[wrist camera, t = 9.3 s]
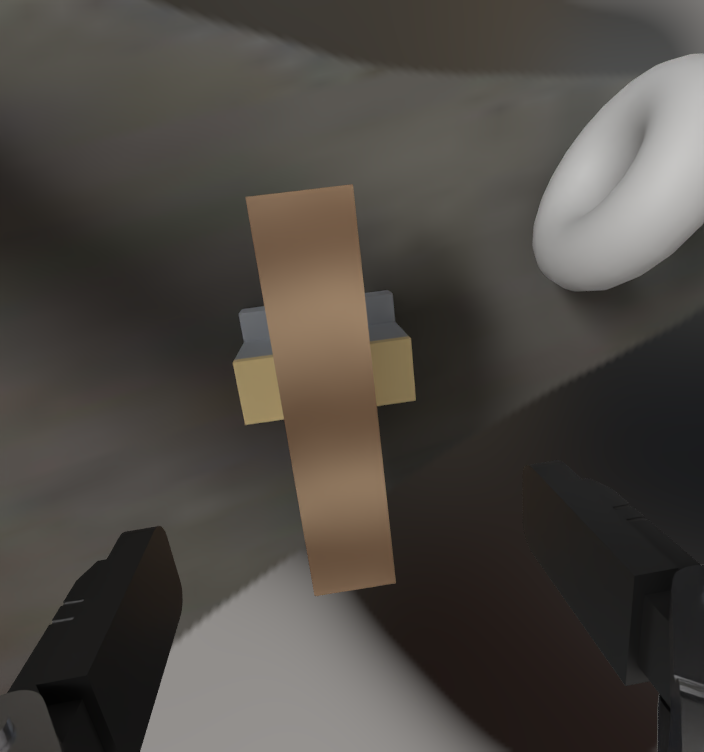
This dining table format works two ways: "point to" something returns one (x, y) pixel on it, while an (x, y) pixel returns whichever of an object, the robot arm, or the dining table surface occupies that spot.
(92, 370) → the dining table surface
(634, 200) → the donut
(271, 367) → the ridge block
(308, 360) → the walnut bar
